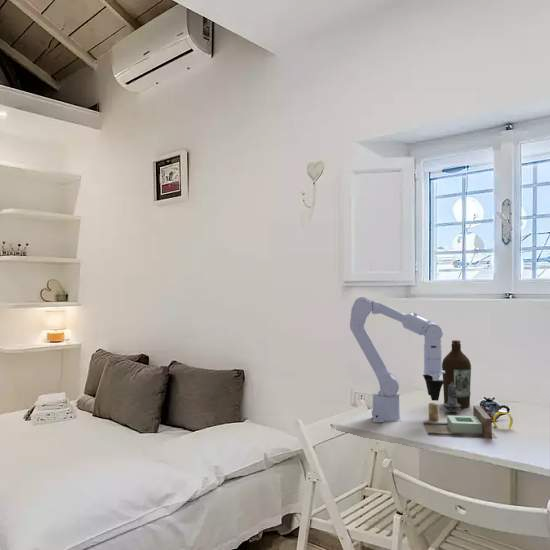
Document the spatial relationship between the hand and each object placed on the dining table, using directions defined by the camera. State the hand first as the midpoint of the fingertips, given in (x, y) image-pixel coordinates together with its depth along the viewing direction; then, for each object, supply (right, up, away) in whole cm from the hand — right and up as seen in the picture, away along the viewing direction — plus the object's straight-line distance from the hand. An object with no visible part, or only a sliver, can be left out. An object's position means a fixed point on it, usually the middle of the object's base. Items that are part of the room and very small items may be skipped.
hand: (433, 397), depth 178 cm
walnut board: (+4, -8, -12) cm, 15 cm away
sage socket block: (+6, -7, -12) cm, 16 cm away
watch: (+20, -8, -9) cm, 23 cm away
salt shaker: (+10, -8, +9) cm, 15 cm away
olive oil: (+16, -8, +22) cm, 28 cm away
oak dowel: (0, -8, 0) cm, 8 cm away
